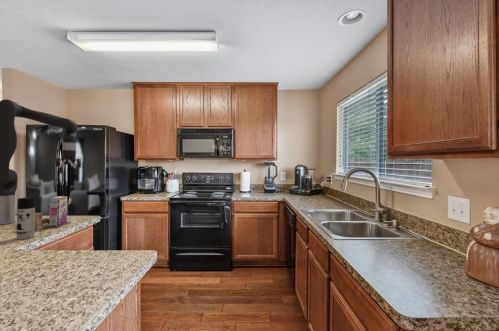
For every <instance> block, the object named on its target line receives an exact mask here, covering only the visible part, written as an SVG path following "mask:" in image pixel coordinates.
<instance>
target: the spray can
mask: <svg viewBox="0 0 499 331" xmlns="http://www.w3.org/2000/svg"><path fill="white" fill-rule="evenodd" d="M16 202H17V205H16V207H17V208H16V209H17V210H16V239H17V240H29V239H32V238H34V237H35V233H36V232H35V213H36V198H35V196H34V197H33V196H32V197H31V196H30V197H19V198H17V201H16Z"/></svg>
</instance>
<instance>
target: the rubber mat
mask: <svg viewBox="0 0 499 331" xmlns="http://www.w3.org/2000/svg"><path fill="white" fill-rule="evenodd" d="M70 223H71V221H67V222H65V223H63V224H61V225H59V226H49V225H47V226H44V229H59V228H60V227H63V226H65V225H68V224H70Z"/></svg>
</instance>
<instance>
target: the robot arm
mask: <svg viewBox="0 0 499 331" xmlns="http://www.w3.org/2000/svg"><path fill="white" fill-rule="evenodd" d="M16 118H20V119H21V118H23V119H26V120H32V121H35V122H38V123H41V124H45V125H47V126H52V127H55V128H56V127H58V128H61V129H64V135H63V137H62V146H61V147H62V148H61V149H62V150H61V157H56V160H55V167H57V168H58V173H59V174H63V173H64V171H63V170H64V167H65V166H67V165H69V166H72V167H73V174H74V175H77V173H78V169H80V168H82V160H81V158H76V157H77V133H78V124H77V123H76V121H75V120H73V119H70V118H67V117H66V118H65V117H61V116H59V115H55V114H51V113H47V112H44V111H38V110H34V109H31V108H28V107H25V106H22V105H21V104H18V103H17V102H15V101H13V100H11V99H2V100H0V226H2V225H1V224H3V225H9V223H10V224H13V223H15V222H16V191H17V189H18V180H19V179H18V174H17V172H16V171H15V170H14V169H10V163H11V160H12V157H13V156H14V154H15V152H16V150H17V144H18V134H17V131H16V126H15V121H16V120H15V119H16Z"/></svg>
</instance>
